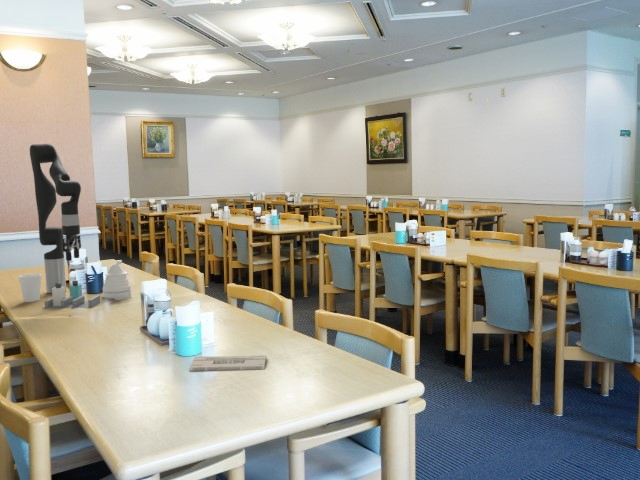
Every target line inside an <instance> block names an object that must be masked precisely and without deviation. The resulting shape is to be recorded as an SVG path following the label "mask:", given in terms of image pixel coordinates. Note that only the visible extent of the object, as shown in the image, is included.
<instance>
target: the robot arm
mask: <svg viewBox="0 0 640 480" xmlns="http://www.w3.org/2000/svg"><path fill="white" fill-rule="evenodd" d="M29 156H30V163H31V168H32V172H33V182H34V192H35V193H34V195H35V201H36V209H37V216H38V217H37V218H38V236H39V243H40V244H41V246H55V248H54V249H52V250H50V251H47V252H45V253H44V254H43V259H44V260H43V261H44V273H45V287H46V288H45V290H46V294H52V288H54V287H55V283H61V287H65V292H66V291H67V281H66V269H65V268H66V264H65V260H66V261H68V262H69V261H70V262H71V261H72V259H73V258H74V259H78V258H80V249H82V243H81V235H80V234H81V229H80V227H81V225H80V217H79V200H80V196H81V191H82V187H81V184H80V183H79V181H77V180H71V177H70V175H69V174H68V171H66V169H65V168H64V166H63V164H62V162H61V159H60V156H59V153H58V152H57V150H56V148H55V146H54V145H53V144H52V143H37V144H31V145H30V146H29ZM47 163H51V165H50V167H49V170H48V171H49V172H48V173H49V176H50V178H51V180H52V181H53V183H54V184H53V183H52V182H51V181H50V180H49V179H48V177H47V176H46V175H45V173H44V171H43V170H42V167H41V164H47ZM54 185H55V186H54ZM57 196H60V197H70V199H69V200H67V201H64V202H63V201H62V203H61V204H60V211H61V226H49V227H48V226H47V221H48V219H49V217H50V215H51V213H52V212H53V210H54V208H55V206H56V205H57V202H58V201H57ZM64 236H65V238H64ZM72 249H73V258H72Z"/></svg>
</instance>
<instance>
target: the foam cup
mask: <svg viewBox="0 0 640 480" xmlns="http://www.w3.org/2000/svg"><path fill="white" fill-rule="evenodd" d="M18 281H19V284H20V289H21V294H22V297H23V302H24V303H34V302H38V301H40V299H41V288H42V285H41V284H42V274H41V273H25V274H20V275H18Z"/></svg>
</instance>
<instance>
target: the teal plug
mask: <svg viewBox="0 0 640 480" xmlns="http://www.w3.org/2000/svg"><path fill="white" fill-rule="evenodd" d="M71 282H72V284H71V285H69V289H68V290H69V296H73V299H76V298H78V297H80V296H83V289H82V288H83V287H82V284H79V280H72V281H71Z"/></svg>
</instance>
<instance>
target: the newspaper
mask: <svg viewBox="0 0 640 480" xmlns="http://www.w3.org/2000/svg"><path fill="white" fill-rule="evenodd" d="M266 360H267V355H265V354H264V355H262V354H261V355H237V356H235V355H233V356H232V355H230V356H227V355H225V356H222V355H221V356H195V357H193V360H192V363H191V365H190V366H189V372H192V373H193V372H194V373H196V372H220V371H221V372H222V371H223V372H225V371H226V372H227V371H252V370H253V371H254V370H255V371H256V370H257V371H258V370H259V371H260V370H261V371H262V370H263V371H264V370H265V369H266V368H265V367H266V366H265V365H266Z"/></svg>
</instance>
